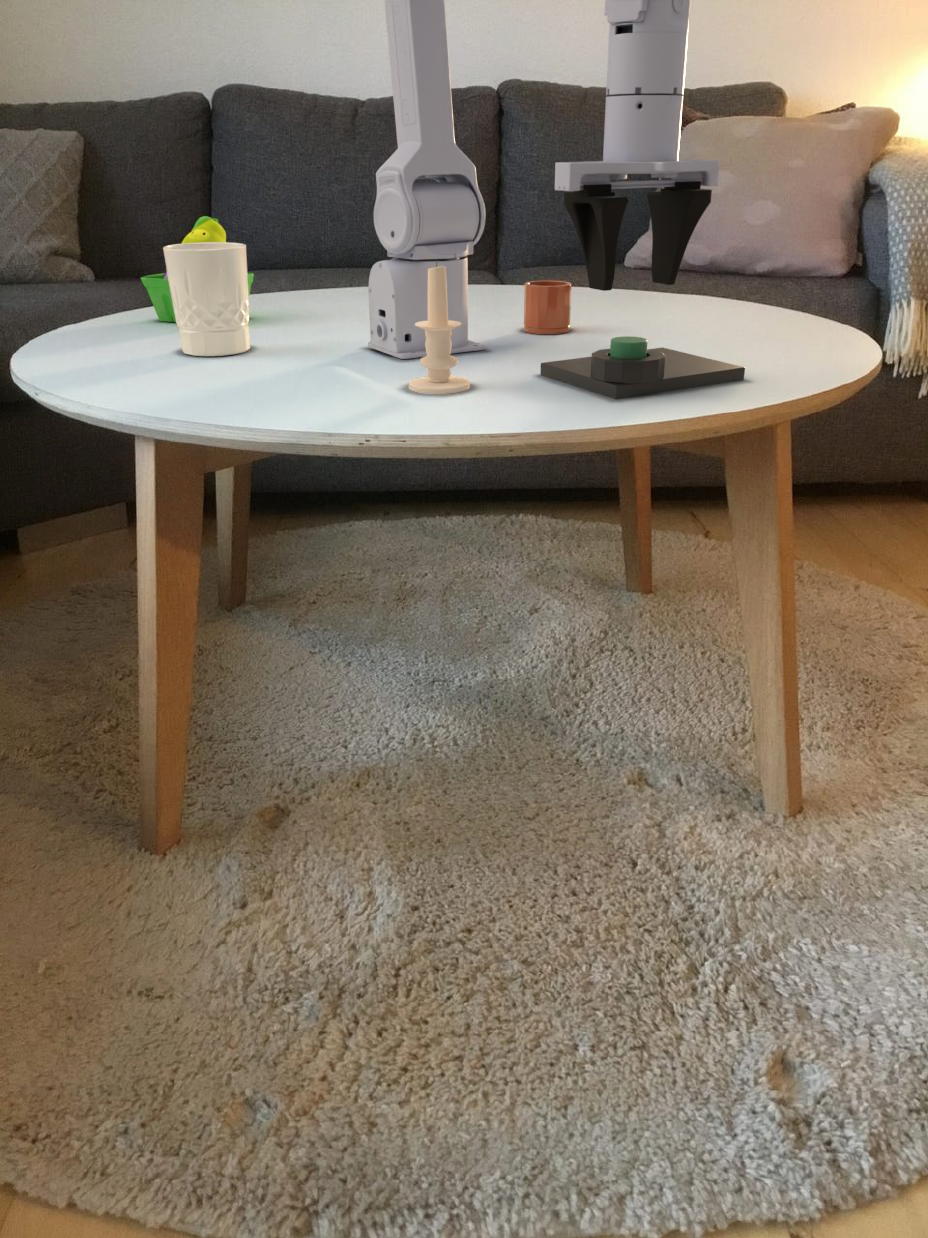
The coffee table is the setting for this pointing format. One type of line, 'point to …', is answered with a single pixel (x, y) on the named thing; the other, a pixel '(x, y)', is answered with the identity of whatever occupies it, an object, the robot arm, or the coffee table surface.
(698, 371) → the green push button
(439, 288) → the candle
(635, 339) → the button
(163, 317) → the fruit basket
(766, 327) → the coffee table surface
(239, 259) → the white cup
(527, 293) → the terracotta pot
